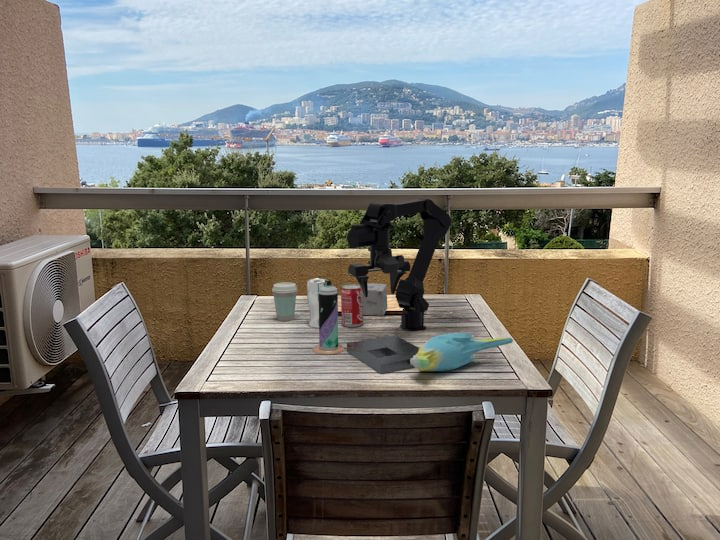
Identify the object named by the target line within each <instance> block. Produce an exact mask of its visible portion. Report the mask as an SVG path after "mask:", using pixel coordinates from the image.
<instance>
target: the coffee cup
mask: <svg viewBox="0 0 720 540" xmlns="http://www.w3.org/2000/svg"><path fill="white" fill-rule="evenodd" d="M272 286H273V287H272V289H271V291H272V294H273V302H274V307H275V314H276V320H277V321H279V322H289V321H293V320H294V319H295V313H296V301H297V291H298V287H297V284H296V283H295V282H290V281H289V282H288V281H287V282H286V281H285V282H284V281H283V282H282V281H281V282H277V283H274V284H273V285H272Z"/></svg>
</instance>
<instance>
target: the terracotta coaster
mask: <svg viewBox="0 0 720 540" xmlns="http://www.w3.org/2000/svg"><path fill="white" fill-rule="evenodd" d="M344 350H345V347H344V346H343V345H342V344H341V343H340V344H339V343H338V349H336V350H333V351H324V350H321V349H320V347H319V344H316V345H314V346H313V347H312V351H313V352H314V353H316V354H317V355H318V354H319V355H326V356H327V355H329V356H330V355H336V354H340V353H342V352H343V351H344Z"/></svg>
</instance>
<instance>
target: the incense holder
mask: <svg viewBox="0 0 720 540" xmlns="http://www.w3.org/2000/svg"><path fill="white" fill-rule="evenodd" d="M367 284H368V297H365V296H364V294H363V316H378V317H383V316H385V314H386V312H387V310H388V290H387V284H386V283H369V282H367Z"/></svg>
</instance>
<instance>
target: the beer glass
mask: <svg viewBox="0 0 720 540" xmlns="http://www.w3.org/2000/svg"><path fill="white" fill-rule="evenodd" d="M325 280H327V279H326V278H319V277H317V278H310V279H308V280H307V284H306V298H307V304H308V308H309V309H308V310H309V322H308V323H309V324H308V326H309V327H311V328H318V329H319V293H318V292H319V288H321V287H322V286H323V285H324V283H325Z"/></svg>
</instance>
